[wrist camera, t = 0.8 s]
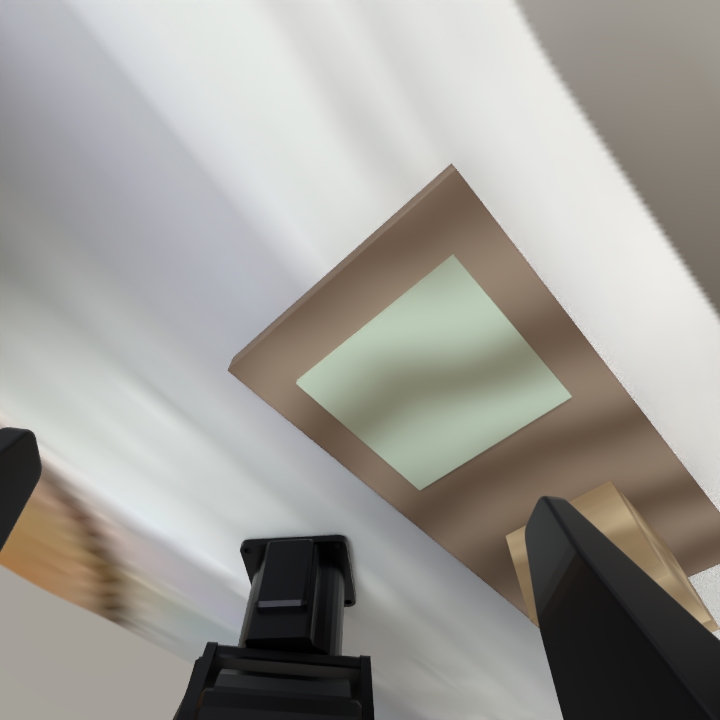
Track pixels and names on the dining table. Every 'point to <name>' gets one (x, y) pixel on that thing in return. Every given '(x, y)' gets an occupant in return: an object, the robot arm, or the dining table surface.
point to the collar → (629, 536)
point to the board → (467, 390)
